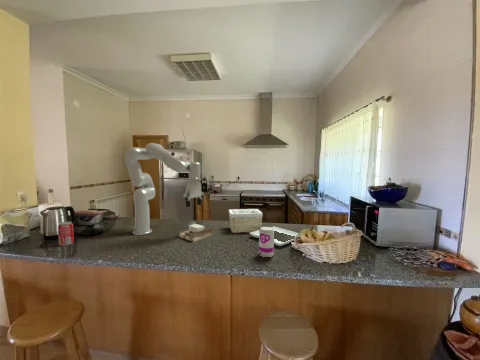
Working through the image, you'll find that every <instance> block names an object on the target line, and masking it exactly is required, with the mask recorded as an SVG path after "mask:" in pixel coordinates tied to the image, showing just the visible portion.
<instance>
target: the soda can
mask: <svg viewBox="0 0 480 360" xmlns="http://www.w3.org/2000/svg"><path fill="white" fill-rule="evenodd" d="M57 234H58V235H57V237H58V245H59V246H61V247H66V246H70V245H72V244H74V242H75V239H74V236H75V235H74V224H73V222H72V221H63V222H59V223H58V226H57Z"/></svg>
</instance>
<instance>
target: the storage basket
mask: <svg viewBox="0 0 480 360" xmlns="http://www.w3.org/2000/svg"><path fill="white" fill-rule="evenodd" d="M228 215H229V217H228V218H229V225H230V231H231V233H234V234H236V233H237V234H238V233H239V234H240V233H241V232H242V233H243V232H244V233H251V232H254V231H258V230H260V228H261V227H262V221H263V220H262V219H263V212H262V211H261V210H259V208H246V209H245V208H244V209H243V208H240V209H239V208H238V209H237V208H234V209H232V208H231V209H228ZM244 233H243V234H244Z"/></svg>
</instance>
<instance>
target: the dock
mask: <svg viewBox="0 0 480 360" xmlns="http://www.w3.org/2000/svg"><path fill="white" fill-rule="evenodd" d="M212 231H213V228H212V227H205V226H204V230H201V231H198V232H192V233H190V232H189V229H186V230H183V231H180V232H177V237H179V238H181V239H183V240H188V241H189V242H194V243H195V242H197V241H201V240H203V239H207V238H209V237H212V236H213V235H212V234H213V232H212Z"/></svg>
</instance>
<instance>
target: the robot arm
mask: <svg viewBox="0 0 480 360" xmlns="http://www.w3.org/2000/svg"><path fill="white" fill-rule="evenodd" d="M171 154H172V153H171V152H170V151H168V150H167V149H166V148H164V147H163V145H161V144H159V143H155V142H149V143H148V144H146V145H145V148H144V147H137V146H136V147H135V146H133V147H129V148H128V149H127V150H126V152H125V154H124V162H125V165H126V168H127V171H128V174H129V179H130V182H131V184H132V186H134V187H138V188H137V189H135V190H134V192H133V194H132V197H133V198H132V200H133V203H134V226H133V227H134V230H132V234H133V235H135V236H143V235H148V234H151V233H152V232H153V229H152V228H150V226H151V225H150V224H151V223H150V222H151V221H150V215H151V214H150V204H149V201H150V200H153V199H154V198H155V197H156V188H155V184H154V182H153V178H152V176H151V175H150V174H149V173H147V172H143V169H142V166H141V164H140V163H139V161H141V160H142V161H145V160H147V161H148V160H151V159H156V160H159V162H161V163H163V164H164V165H165V167H167V168H169V169H171V170H173V171H175V172H176V173H180V174H181V173H182V174H183V173H188V182H187V183H186V186H185V187H186V189H185V192H184V193H183V194H182V196H183V199H184V200H185V207H188V208H190V207H191V199H194V198H196V201H197V202H196V203H197V204H196V205H197V206H202V199H203V198H204V195H205V192H204V191H202V184H201V180H202V179H201V163H200V162H197V161H183V160H182V161H181V160H180V159H177V158H176V157H174V156H172V155H171Z"/></svg>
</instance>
